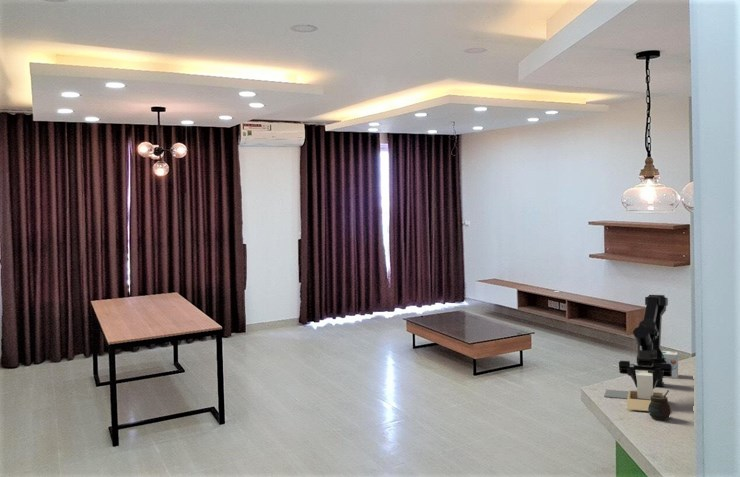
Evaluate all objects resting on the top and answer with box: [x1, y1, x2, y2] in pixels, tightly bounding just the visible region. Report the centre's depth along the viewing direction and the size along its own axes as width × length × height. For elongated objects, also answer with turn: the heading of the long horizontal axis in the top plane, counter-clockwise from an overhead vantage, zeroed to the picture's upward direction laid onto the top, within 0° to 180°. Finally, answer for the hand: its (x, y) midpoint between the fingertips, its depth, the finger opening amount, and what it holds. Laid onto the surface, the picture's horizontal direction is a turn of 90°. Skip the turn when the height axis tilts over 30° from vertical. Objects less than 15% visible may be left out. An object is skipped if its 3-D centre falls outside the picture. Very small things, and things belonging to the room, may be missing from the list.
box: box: [636, 371, 654, 400], centre depth 234 cm, size 4×6×12 cm
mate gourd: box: [647, 389, 672, 421], centre depth 219 cm, size 7×8×10 cm
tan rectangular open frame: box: [626, 389, 664, 412], centre depth 235 cm, size 19×12×4 cm, turn 154°
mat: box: [603, 389, 629, 400], centre depth 249 cm, size 10×9×1 cm
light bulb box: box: [661, 350, 679, 379], centre depth 275 cm, size 11×7×11 cm, turn 62°
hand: (645, 387), depth 233 cm, fingers closed on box, 5 cm apart
